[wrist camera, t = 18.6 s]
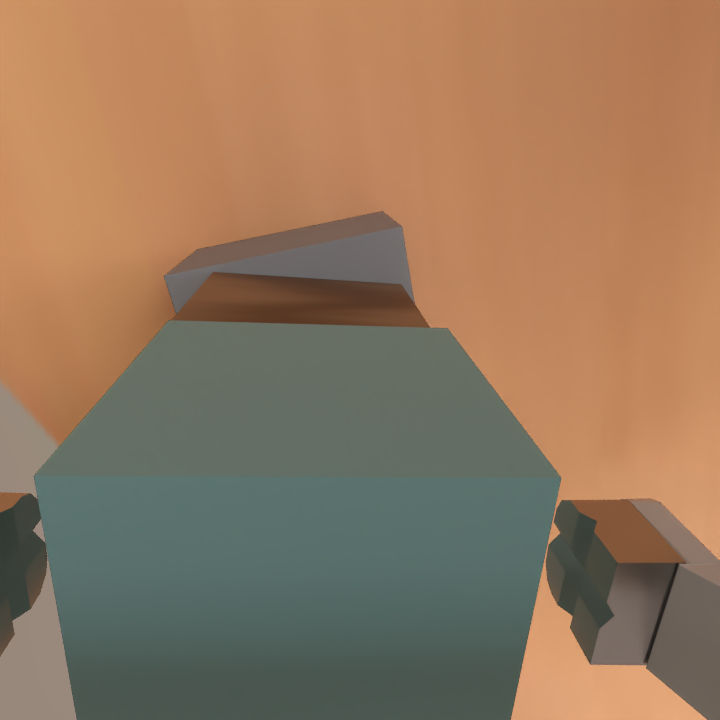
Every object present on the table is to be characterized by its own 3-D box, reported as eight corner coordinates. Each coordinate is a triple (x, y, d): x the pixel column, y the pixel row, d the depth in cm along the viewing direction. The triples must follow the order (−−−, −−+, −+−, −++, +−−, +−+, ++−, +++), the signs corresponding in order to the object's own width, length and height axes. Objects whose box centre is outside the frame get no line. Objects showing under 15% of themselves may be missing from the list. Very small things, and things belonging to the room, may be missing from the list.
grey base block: (382, 210, 21) (402, 226, 16) (411, 380, 23) (436, 437, 18) (197, 248, 20) (163, 276, 16) (247, 414, 23) (229, 480, 18)
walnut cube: (401, 284, 16) (441, 343, 11) (383, 446, 18) (410, 561, 13) (213, 271, 16) (164, 328, 11) (214, 440, 18) (173, 557, 13)
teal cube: (447, 328, 11) (561, 478, 6) (422, 549, 13) (492, 806, 8) (168, 320, 11) (32, 476, 6) (184, 551, 13) (96, 827, 7)
